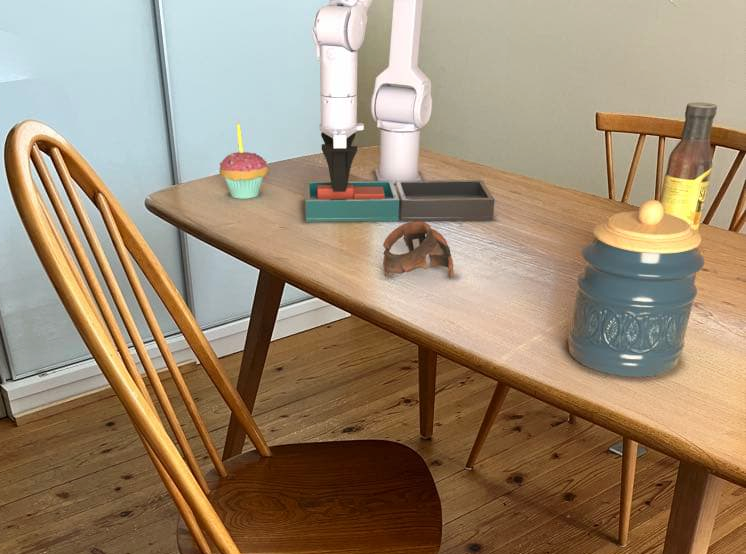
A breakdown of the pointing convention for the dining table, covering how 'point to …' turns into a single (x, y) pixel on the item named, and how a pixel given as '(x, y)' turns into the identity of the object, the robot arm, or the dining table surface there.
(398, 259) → the brown openwork arch
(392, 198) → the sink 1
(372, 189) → the brush
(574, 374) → the dining table surface
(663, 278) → the canister
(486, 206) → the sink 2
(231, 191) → the cupcake
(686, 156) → the sauce bottle
